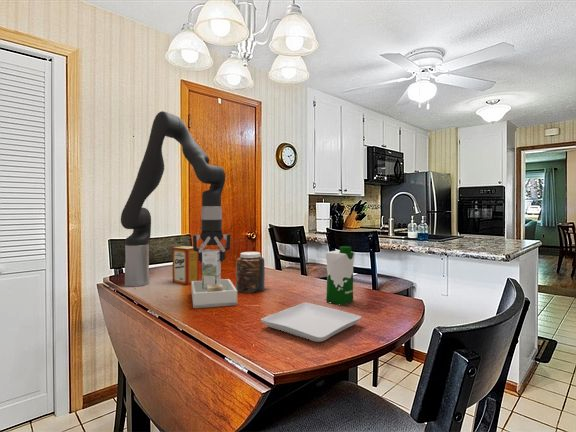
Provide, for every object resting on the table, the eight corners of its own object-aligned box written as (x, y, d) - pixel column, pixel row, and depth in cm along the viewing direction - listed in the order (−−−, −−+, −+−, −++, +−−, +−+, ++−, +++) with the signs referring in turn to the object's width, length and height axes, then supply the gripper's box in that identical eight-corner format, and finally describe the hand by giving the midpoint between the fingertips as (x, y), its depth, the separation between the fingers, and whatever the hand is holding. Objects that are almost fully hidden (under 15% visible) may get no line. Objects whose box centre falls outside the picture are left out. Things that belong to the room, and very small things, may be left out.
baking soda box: (172, 282, 154) (172, 246, 153) (184, 279, 159) (184, 245, 159) (187, 285, 149) (187, 248, 148) (198, 282, 154) (198, 246, 154)
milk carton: (344, 307, 118) (345, 248, 117) (322, 302, 123) (322, 246, 123) (356, 301, 124) (357, 246, 124) (335, 297, 130) (335, 244, 130)
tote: (193, 308, 115) (193, 293, 115) (191, 294, 134) (191, 281, 134) (237, 304, 120) (237, 290, 119) (229, 291, 138) (229, 278, 138)
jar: (267, 292, 137) (267, 254, 137) (237, 294, 134) (237, 255, 134) (262, 285, 149) (262, 250, 148) (234, 287, 146) (234, 251, 145)
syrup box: (221, 286, 134) (221, 249, 133) (216, 290, 128) (216, 251, 127) (206, 286, 134) (206, 248, 134) (201, 289, 128) (201, 250, 128)
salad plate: (321, 350, 83) (321, 336, 83) (258, 329, 97) (258, 317, 97) (363, 327, 99) (363, 315, 99) (304, 312, 113) (304, 301, 113)
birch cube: (207, 302, 119) (207, 288, 119) (206, 298, 124) (206, 284, 123) (222, 301, 120) (222, 287, 120) (220, 297, 125) (220, 284, 125)
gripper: (229, 217, 136) (229, 259, 136) (191, 218, 131) (191, 261, 132) (232, 218, 129) (232, 262, 129) (192, 218, 124) (192, 264, 125)
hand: (211, 261), depth 131 cm, fingers closed on syrup box, 7 cm apart
